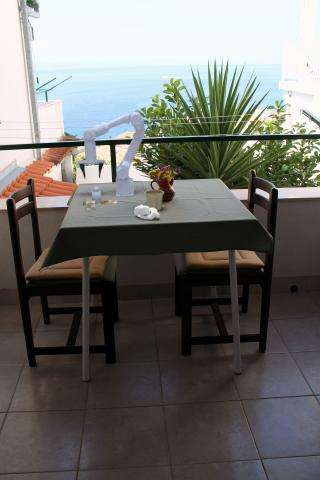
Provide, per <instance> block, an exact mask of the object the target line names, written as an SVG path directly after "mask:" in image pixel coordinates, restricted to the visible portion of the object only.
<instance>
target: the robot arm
mask: <svg viewBox="0 0 320 480" xmlns="http://www.w3.org/2000/svg"><path fill="white" fill-rule="evenodd" d="M122 124H126V125H130V124H131V125H132V126H133V128H134V131H135V133H134V135H133V138H132V140H131V142H130V144H129V146H128V148H127V150H126V153H124V156H123V158H122V160H121V162H120V163H119V164H118V165H117V166H116V168H115V169H116V177H115V182H116V183H115V186H116V189H115V190H116V192H115V197H126V196H127V197H130V196H135V187H134V184H135V183H134V178H133V177H130V176H129V171H130V169H131V165H132V163H133V160H134V159H135V156H136V154H137V152H138V150H139V149H140V148H139V147H140V145H141V143H142V141H143V139H144V136H145V134H146V127H145V126H146V125H145V120H144V118H143V117H142V114H141V113H140V112H138V111H136V110H135V111H131V112H128V113H125V114H123V115H121V116H119V117H117V118H115V119H113V120H110V121H108V122H105V121H99V122H98V124H96V125H93V126H92V125H91V126H90V128H88V127H87V128H85V130H84V131H83V135H82V136H83V138H84V140H83V142H84V144H83V145H84V146H83V147H84V156H85V157H84V158H85V160H76V163H77V164H76V165H77V166H78V167H79V168H80V170H81V173H82V175H83V178H84V180H86V178H87V177H86V168H85V166H86V165H87V166H88V165H98V179H101V174H102V173H101V172H102V170H103V167H104V165H106V160H105V159H98V158H97V149H96V147H97V146H96V145H97V144H96V141H95V140H96V138H99V137H101V136H103V135H106V134H108V133H109V131H110V129H114V128H115V127H117V126H121V125H122Z"/></svg>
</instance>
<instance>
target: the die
mask: <svg viewBox="0 0 320 480" xmlns="http://www.w3.org/2000/svg"><path fill="white" fill-rule="evenodd" d="M85 202H86V205H85V206H86V211H96V204H95V201H92V200H86V201H85Z"/></svg>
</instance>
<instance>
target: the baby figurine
mask: <svg viewBox="0 0 320 480" xmlns="http://www.w3.org/2000/svg"><path fill="white" fill-rule="evenodd" d="M133 213H134V214H133V215H135V217H138V218H140V219H142V220H149V221H151V220H154V219H158V218H160V217H161V214H160V213H159V211H157V209H155V208H149V207H148V205H143V204H142V203H141V204H140V205H137V206H136V207H134V211H133Z"/></svg>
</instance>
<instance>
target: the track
mask: <svg viewBox="0 0 320 480" xmlns="http://www.w3.org/2000/svg"><path fill="white" fill-rule="evenodd" d="M86 202H87V201H86V198H83V199H82V205H83V206H86ZM114 204H118V203H117V199H113V200H111V199H109V200H101V203H100V204H99V205H114Z"/></svg>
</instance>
